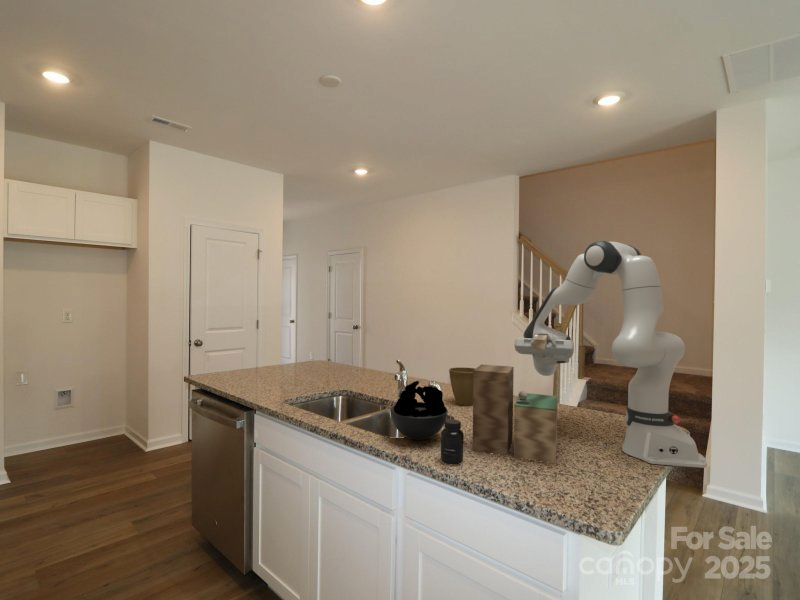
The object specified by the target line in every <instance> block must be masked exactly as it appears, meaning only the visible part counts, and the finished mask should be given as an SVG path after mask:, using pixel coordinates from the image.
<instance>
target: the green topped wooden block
mask: <svg viewBox="0 0 800 600" xmlns="http://www.w3.org/2000/svg"><path fill="white" fill-rule="evenodd" d="M557 446H558V395H550V394H539V393H538V394H537V393H529V392H526V391H525V390H521V391H519V392H518V397H517V399H516V401H515V403H514V406H513V458H514V457H516V458H515V459H518V458H523V459H522V460H524V459H530V460H529V461H531V460H536V461H535V462H538V461H543V462H542V463H544V462H549V463H548V464H551V463H554V464H553V465H556V463H557V461H556V459H557Z"/></svg>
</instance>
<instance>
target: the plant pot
mask: <svg viewBox="0 0 800 600" xmlns="http://www.w3.org/2000/svg"><path fill="white" fill-rule="evenodd" d="M475 369H476V368H474V367H459V366H458V367H451V368H449V369H448V372H449V380H450V385H451V390H452V393H453V394H452V395H453V397H454V400H455V402H456V405H458V406H462V407H463V406H464V407H469V406H473V370H475Z"/></svg>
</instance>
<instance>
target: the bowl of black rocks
mask: <svg viewBox="0 0 800 600" xmlns="http://www.w3.org/2000/svg"><path fill="white" fill-rule="evenodd" d="M419 384H420V381H419V380H415V381H412V382H411V383H409V384H407V385H406V386H405V387H404V390H403V391H402V392H401V393H400V395H399V397H398V399H397V400H396V403H395V404H394V405H393V406H391V408H390V410H389V411H390V417H391V420H392V423H393V425H394V427H395V428H396V429H397V431H398V432H399V433H401V434H402V435H403V436H405V437H406V438H409V439H411V440H412V439H413V440H419V441H420V440H421V441H422V440H426V439H430V438H432V437H434V436H436V434H438V433H439V432H440V431H441V430H443V427H444V426H445V420H447V419H448V418H447V417H448V408H447V407H446V406H445V403H444V400H443V396H444V394H443V391H442V390H440V389H438V387H436V386H434V387H433V386H432V385H431V386H430V385H429V386H428V385H424V386H423V387H421V386H418V385H419ZM417 395H419V397H420V399H421V400H422V401H418V399H417V398H416V397H417Z"/></svg>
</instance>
